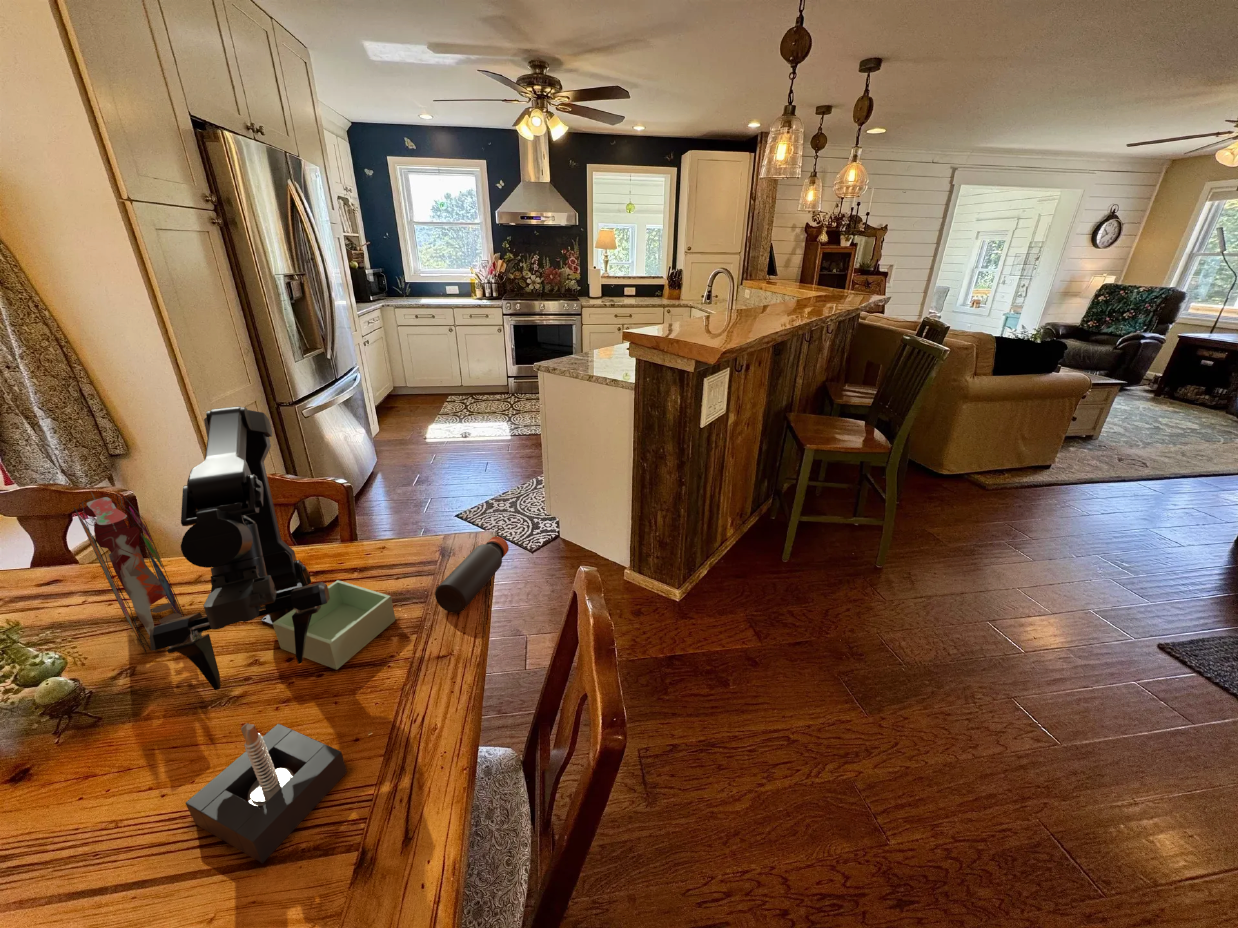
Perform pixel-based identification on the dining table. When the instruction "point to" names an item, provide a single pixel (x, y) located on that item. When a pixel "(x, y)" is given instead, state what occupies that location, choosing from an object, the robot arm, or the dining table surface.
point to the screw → (262, 768)
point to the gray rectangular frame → (272, 823)
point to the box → (129, 562)
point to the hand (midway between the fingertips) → (260, 675)
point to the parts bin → (340, 624)
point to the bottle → (471, 575)
